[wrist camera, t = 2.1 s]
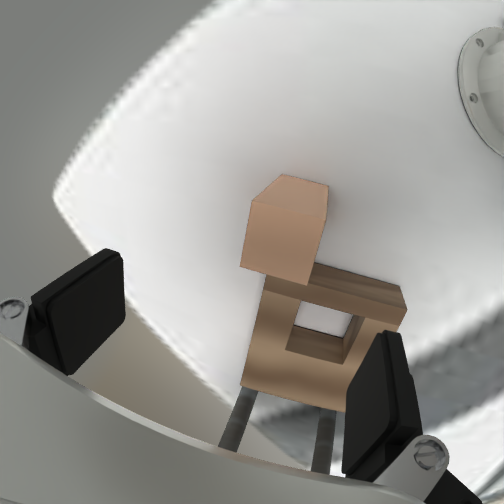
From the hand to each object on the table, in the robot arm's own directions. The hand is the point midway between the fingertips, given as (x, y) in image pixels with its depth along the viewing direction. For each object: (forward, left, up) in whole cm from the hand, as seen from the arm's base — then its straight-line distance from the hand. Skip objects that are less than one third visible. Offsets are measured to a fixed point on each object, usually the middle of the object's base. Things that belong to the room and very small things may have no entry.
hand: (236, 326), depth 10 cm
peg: (0, 0, -17) cm, 17 cm away
